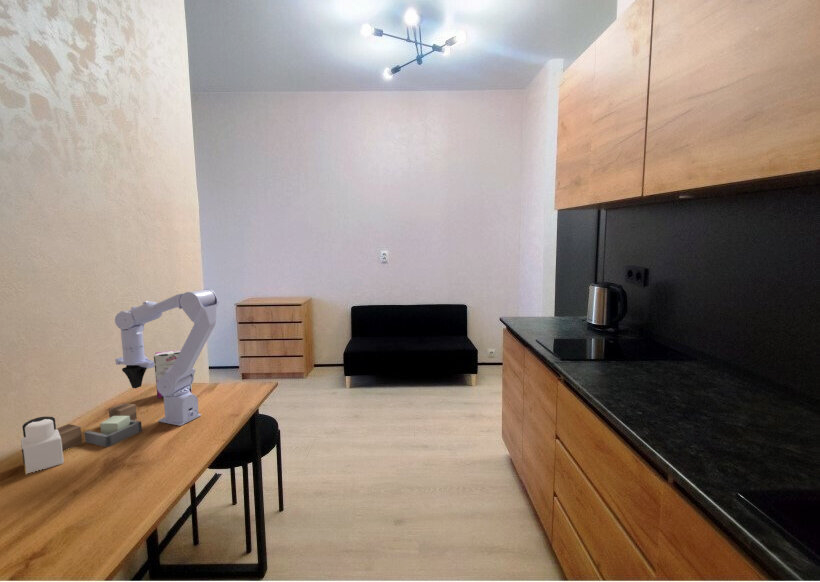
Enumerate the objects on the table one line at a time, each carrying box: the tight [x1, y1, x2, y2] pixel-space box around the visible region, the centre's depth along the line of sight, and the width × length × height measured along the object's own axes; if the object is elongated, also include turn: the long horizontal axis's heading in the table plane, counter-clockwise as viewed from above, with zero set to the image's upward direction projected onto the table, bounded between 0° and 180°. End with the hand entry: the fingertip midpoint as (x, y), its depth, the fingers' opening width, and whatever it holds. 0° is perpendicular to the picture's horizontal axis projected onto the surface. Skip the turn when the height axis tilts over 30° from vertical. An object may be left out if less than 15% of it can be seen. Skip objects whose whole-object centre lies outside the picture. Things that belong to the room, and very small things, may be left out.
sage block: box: [99, 416, 131, 435], centre depth 115 cm, size 5×5×5 cm
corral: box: [83, 420, 143, 448], centre depth 114 cm, size 9×10×3 cm
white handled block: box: [20, 416, 65, 475], centre depth 99 cm, size 7×7×12 cm
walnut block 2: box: [108, 402, 138, 421], centre depth 124 cm, size 5×5×5 cm
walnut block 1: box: [56, 423, 83, 452], centre depth 109 cm, size 5×5×5 cm
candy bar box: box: [153, 349, 193, 399], centre depth 147 cm, size 11×5×16 cm, turn 117°
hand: (136, 387), depth 127 cm, fingers closed
